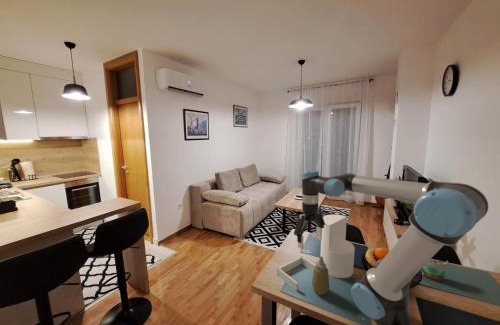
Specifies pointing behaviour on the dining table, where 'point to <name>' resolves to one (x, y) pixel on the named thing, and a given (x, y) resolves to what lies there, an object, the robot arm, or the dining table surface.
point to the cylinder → (337, 247)
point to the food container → (434, 269)
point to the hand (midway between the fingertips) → (310, 243)
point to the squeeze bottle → (320, 278)
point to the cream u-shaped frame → (290, 266)
